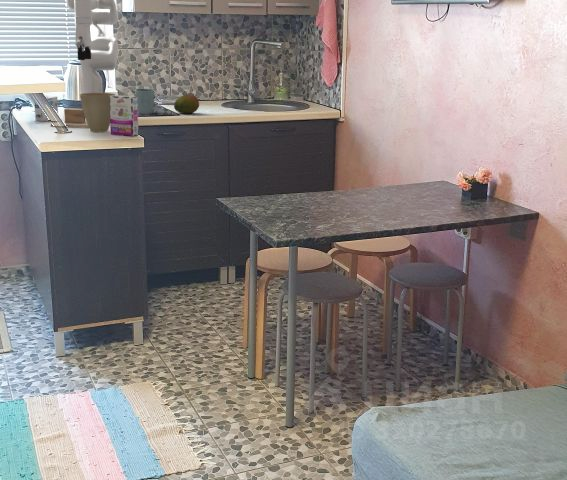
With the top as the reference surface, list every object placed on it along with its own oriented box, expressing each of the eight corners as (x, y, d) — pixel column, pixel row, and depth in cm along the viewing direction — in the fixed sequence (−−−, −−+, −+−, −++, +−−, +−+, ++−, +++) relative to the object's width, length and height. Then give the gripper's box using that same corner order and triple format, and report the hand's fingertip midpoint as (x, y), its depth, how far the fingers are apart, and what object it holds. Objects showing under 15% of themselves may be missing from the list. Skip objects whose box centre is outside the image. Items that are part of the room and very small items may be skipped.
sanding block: (68, 121, 367) (67, 108, 366) (85, 122, 367) (85, 108, 366) (64, 122, 363) (64, 109, 361) (82, 123, 362) (81, 110, 361)
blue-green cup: (145, 111, 426) (144, 88, 423) (158, 113, 420) (158, 89, 417) (131, 112, 418) (130, 89, 415) (145, 114, 412) (144, 90, 409)
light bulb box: (48, 121, 374) (47, 98, 371) (34, 120, 375) (33, 97, 372) (58, 119, 384) (57, 96, 381) (45, 118, 385) (44, 95, 382)
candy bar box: (139, 135, 342) (138, 96, 338) (132, 136, 338) (132, 97, 333) (116, 133, 346) (115, 94, 342) (109, 134, 341) (109, 95, 337)
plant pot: (103, 127, 360) (102, 91, 356) (122, 131, 350) (122, 94, 346) (74, 130, 350) (73, 93, 345) (93, 134, 340) (92, 96, 336)
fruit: (201, 114, 420) (202, 95, 417) (179, 115, 414) (179, 95, 411) (193, 112, 430) (193, 93, 427) (171, 112, 424) (171, 93, 421)
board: (60, 122, 371) (60, 119, 371) (98, 124, 370) (98, 121, 370) (50, 126, 359) (50, 123, 359) (90, 128, 358) (90, 125, 358)
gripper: (81, 21, 378) (82, 58, 382) (69, 21, 361) (70, 60, 366) (96, 21, 377) (97, 59, 382) (85, 21, 361) (87, 60, 365)
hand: (84, 59), depth 374 cm, fingers open, 9 cm apart
